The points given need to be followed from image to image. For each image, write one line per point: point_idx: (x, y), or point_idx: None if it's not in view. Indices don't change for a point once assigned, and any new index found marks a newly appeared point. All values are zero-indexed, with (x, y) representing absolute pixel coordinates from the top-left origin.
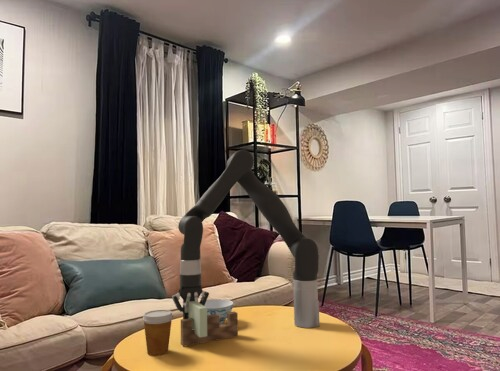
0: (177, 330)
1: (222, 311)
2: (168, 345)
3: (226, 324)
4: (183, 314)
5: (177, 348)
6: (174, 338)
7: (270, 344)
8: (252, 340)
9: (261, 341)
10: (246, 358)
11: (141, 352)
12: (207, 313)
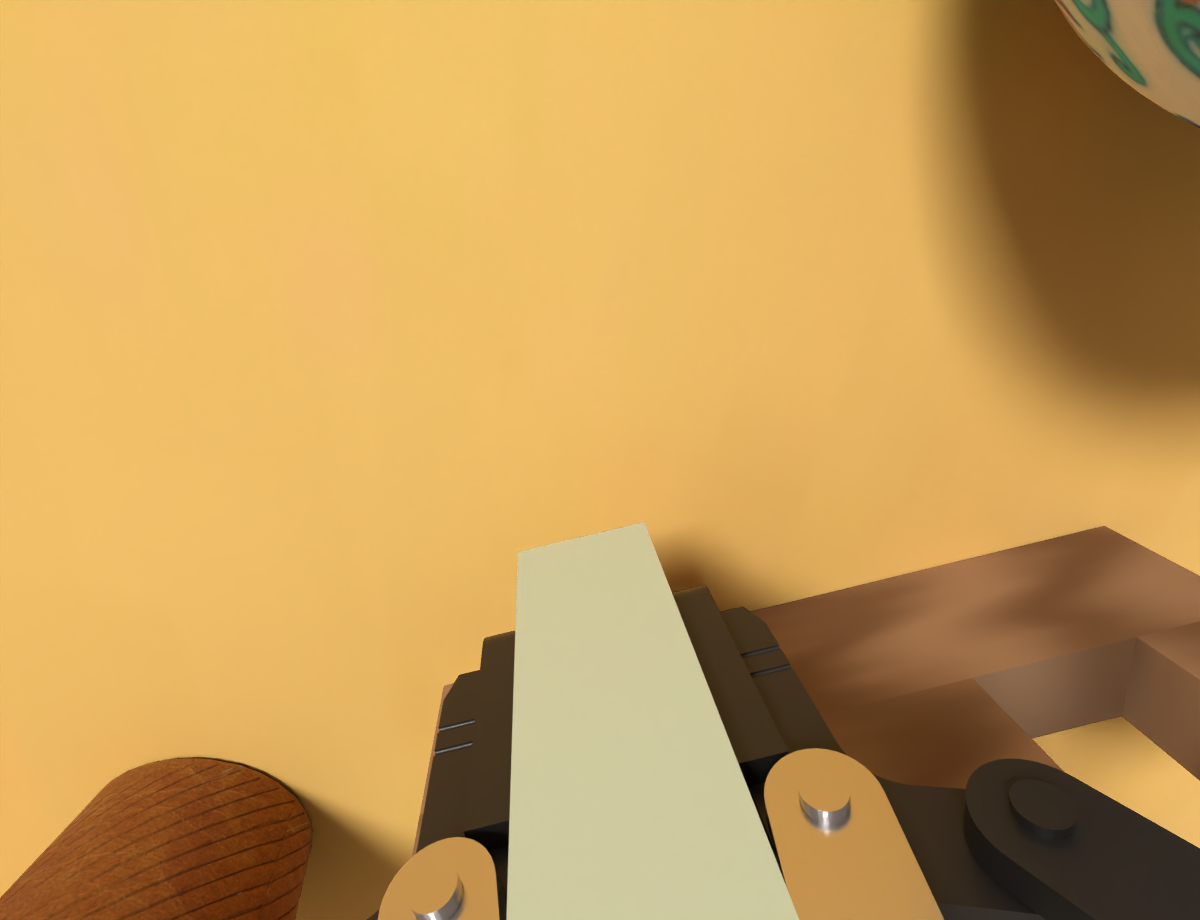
0: (385, 37)
1: None
2: (297, 902)
3: (1118, 655)
4: (437, 830)
5: (409, 780)
6: (355, 471)
7: (1184, 826)
8: (1132, 728)
9: (1176, 762)
10: None
11: (10, 813)
12: (1172, 75)
